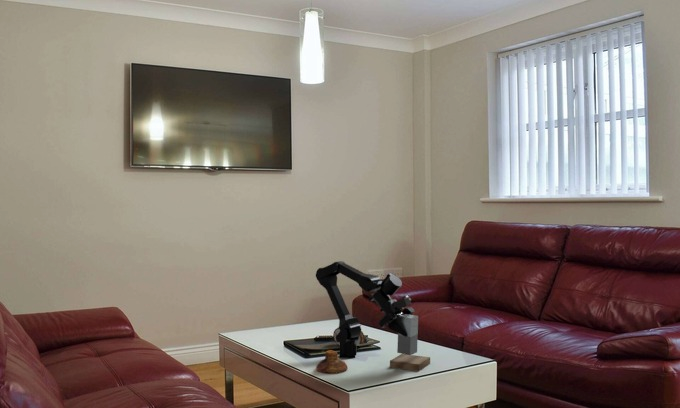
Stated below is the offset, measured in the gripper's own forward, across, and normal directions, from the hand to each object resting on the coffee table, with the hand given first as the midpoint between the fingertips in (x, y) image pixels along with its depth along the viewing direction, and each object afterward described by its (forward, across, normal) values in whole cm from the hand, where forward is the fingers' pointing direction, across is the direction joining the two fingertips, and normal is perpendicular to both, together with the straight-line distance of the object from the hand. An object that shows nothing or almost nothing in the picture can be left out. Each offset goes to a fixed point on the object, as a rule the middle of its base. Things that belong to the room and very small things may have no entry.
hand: (410, 334), depth 238 cm
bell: (-7, -18, +26) cm, 33 cm away
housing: (+4, 0, +6) cm, 7 cm away
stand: (+8, +4, +11) cm, 14 cm away
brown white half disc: (-19, +16, +38) cm, 46 cm away
